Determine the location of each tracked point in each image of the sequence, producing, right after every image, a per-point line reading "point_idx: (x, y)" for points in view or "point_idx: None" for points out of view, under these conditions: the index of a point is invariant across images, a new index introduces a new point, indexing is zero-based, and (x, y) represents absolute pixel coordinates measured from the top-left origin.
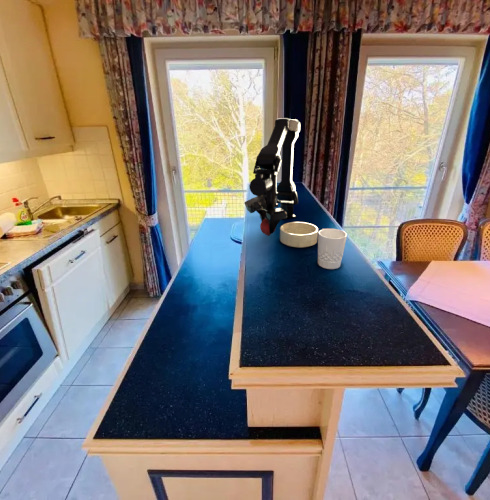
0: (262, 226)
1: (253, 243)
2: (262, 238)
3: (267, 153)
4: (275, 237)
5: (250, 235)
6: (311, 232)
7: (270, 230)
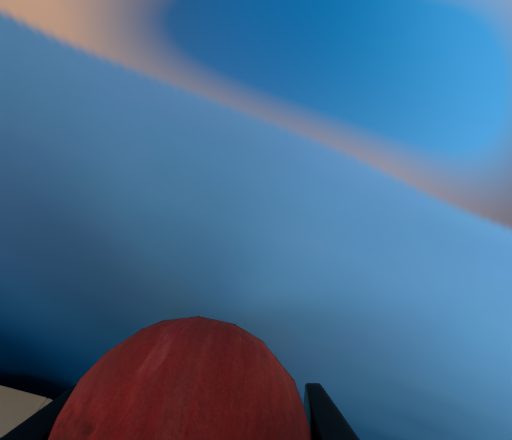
0: (113, 388)
1: (39, 111)
2: (161, 265)
3: None
4: None
5: (303, 171)
6: None
7: (30, 420)
